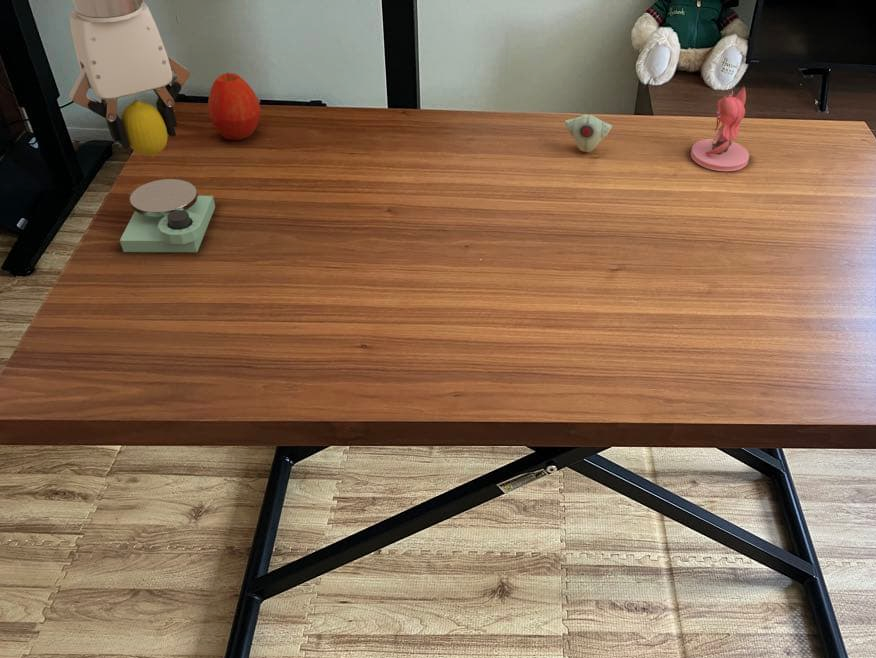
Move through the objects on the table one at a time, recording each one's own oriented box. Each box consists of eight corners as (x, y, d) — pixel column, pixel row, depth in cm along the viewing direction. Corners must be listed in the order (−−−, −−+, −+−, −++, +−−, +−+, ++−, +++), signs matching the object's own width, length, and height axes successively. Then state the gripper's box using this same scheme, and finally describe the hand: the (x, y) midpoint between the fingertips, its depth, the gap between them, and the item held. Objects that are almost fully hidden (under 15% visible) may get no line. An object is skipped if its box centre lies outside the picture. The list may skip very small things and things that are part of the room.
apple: (267, 144, 144) (255, 81, 137) (215, 149, 142) (201, 86, 135) (262, 122, 150) (251, 60, 143) (212, 127, 148) (198, 64, 140)
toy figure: (713, 138, 153) (727, 71, 144) (759, 159, 148) (775, 91, 140) (679, 155, 148) (690, 87, 139) (724, 178, 143) (739, 108, 135)
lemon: (175, 146, 122) (161, 91, 116) (170, 166, 118) (155, 109, 112) (134, 148, 121) (117, 92, 116) (127, 167, 117) (110, 111, 112)
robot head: (610, 149, 148) (614, 111, 144) (608, 161, 145) (612, 123, 141) (563, 144, 149) (566, 106, 144) (560, 156, 146) (563, 117, 141)
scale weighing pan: (145, 223, 120) (143, 218, 119) (121, 195, 125) (120, 190, 124) (208, 204, 124) (206, 199, 123) (183, 177, 129) (181, 172, 128)
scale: (202, 255, 121) (196, 234, 118) (121, 255, 120) (114, 233, 118) (221, 206, 130) (216, 186, 128) (146, 206, 129) (140, 185, 127)
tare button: (188, 230, 119) (185, 221, 118) (167, 230, 119) (164, 220, 118) (193, 219, 122) (190, 210, 120) (172, 219, 121) (169, 210, 120)
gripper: (164, -23, 111) (197, 112, 124) (22, 2, 103) (72, 144, 116) (188, -5, 107) (219, 133, 120) (41, 23, 99) (91, 167, 112)
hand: (146, 137), depth 118 cm, fingers closed on lemon, 5 cm apart
